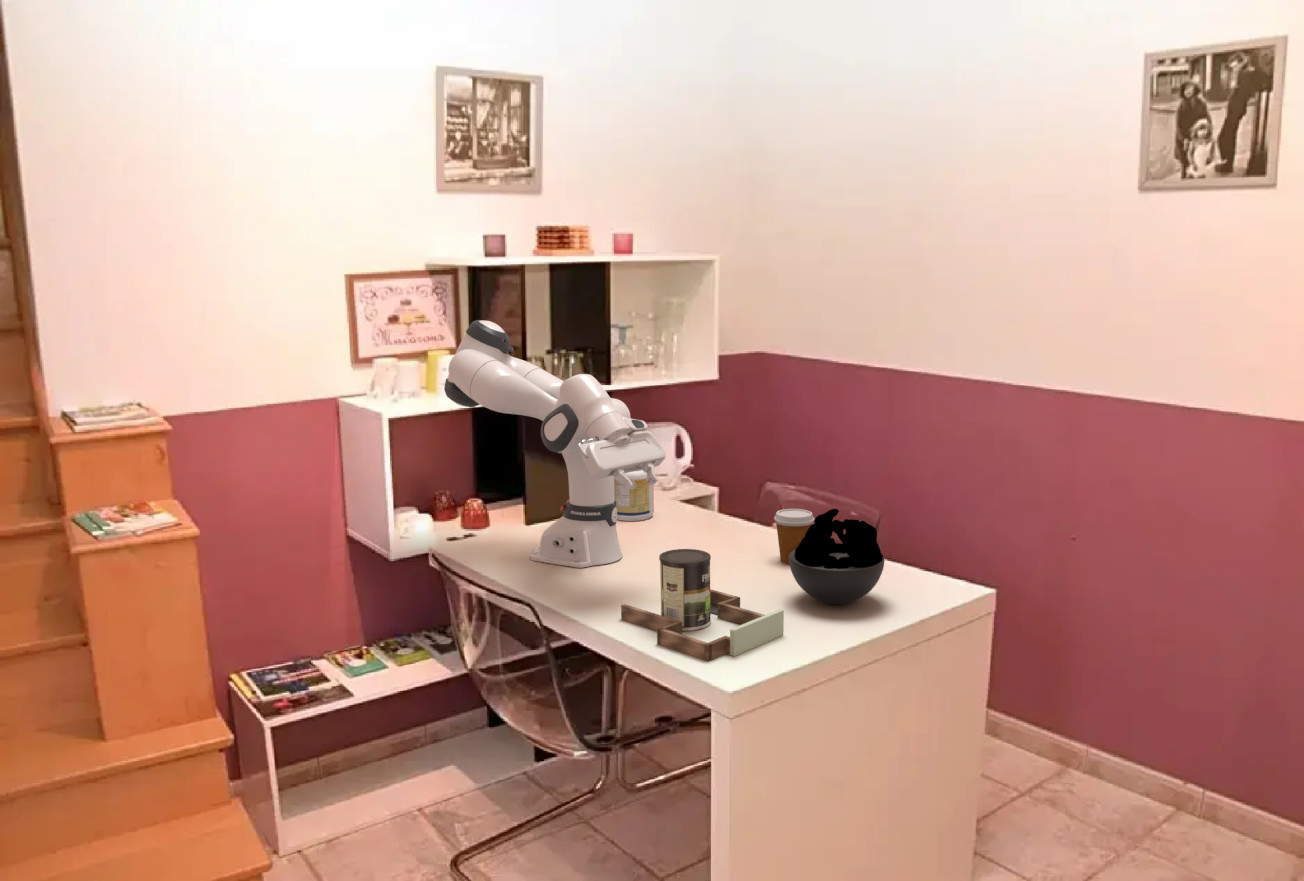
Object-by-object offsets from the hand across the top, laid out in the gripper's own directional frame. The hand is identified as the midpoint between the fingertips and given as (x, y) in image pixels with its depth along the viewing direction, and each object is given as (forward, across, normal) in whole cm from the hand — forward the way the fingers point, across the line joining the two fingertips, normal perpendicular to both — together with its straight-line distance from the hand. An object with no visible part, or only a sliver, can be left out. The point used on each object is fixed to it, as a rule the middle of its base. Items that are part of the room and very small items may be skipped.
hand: (643, 485), depth 223 cm
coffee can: (+29, -4, +7) cm, 30 cm away
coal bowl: (+40, +26, -4) cm, 48 cm away
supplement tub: (-20, +50, +56) cm, 78 cm away
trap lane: (+32, -4, +4) cm, 32 cm away
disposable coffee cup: (+23, +45, +14) cm, 52 cm away
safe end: (+42, -4, -6) cm, 43 cm away
